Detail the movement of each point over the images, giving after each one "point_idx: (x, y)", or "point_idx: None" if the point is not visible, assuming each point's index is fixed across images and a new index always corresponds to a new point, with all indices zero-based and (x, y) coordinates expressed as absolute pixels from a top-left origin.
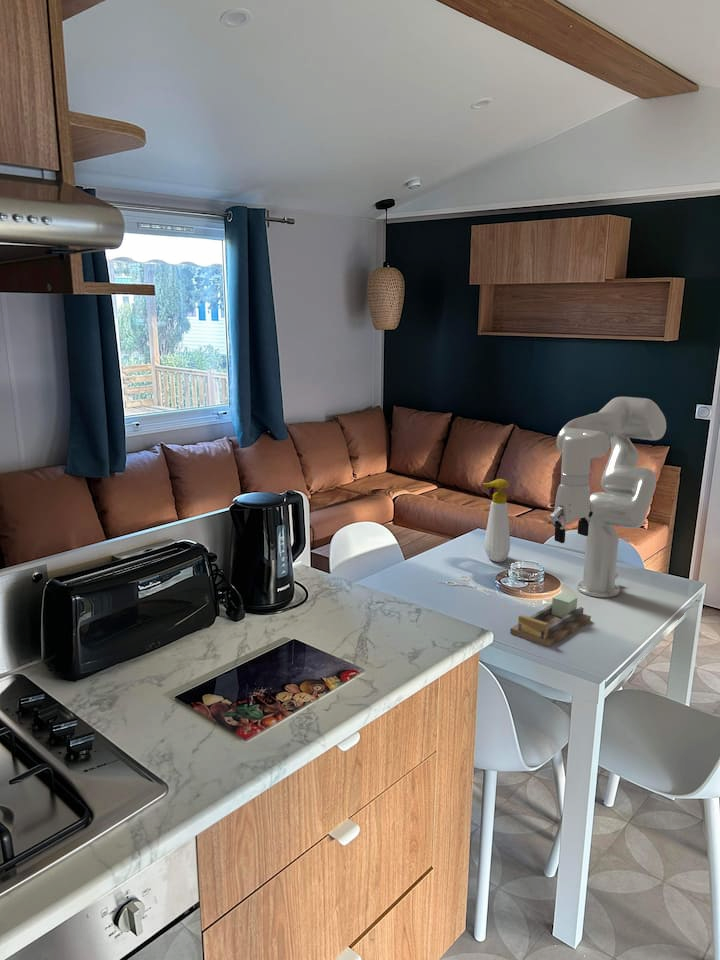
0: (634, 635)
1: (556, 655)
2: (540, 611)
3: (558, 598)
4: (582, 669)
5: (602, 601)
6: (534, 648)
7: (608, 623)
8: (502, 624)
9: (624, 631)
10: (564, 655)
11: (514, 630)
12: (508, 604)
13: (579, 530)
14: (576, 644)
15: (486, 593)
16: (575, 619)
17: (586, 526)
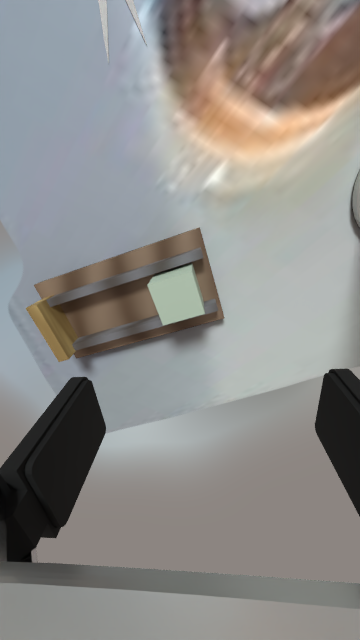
0: (239, 385)
1: (75, 374)
2: (115, 279)
3: (157, 296)
4: None
5: (342, 250)
6: None
7: (244, 336)
8: (45, 239)
9: (239, 369)
10: None
11: (39, 293)
12: (119, 139)
13: (337, 403)
14: (128, 365)
15: (102, 7)
16: None
17: (356, 506)
